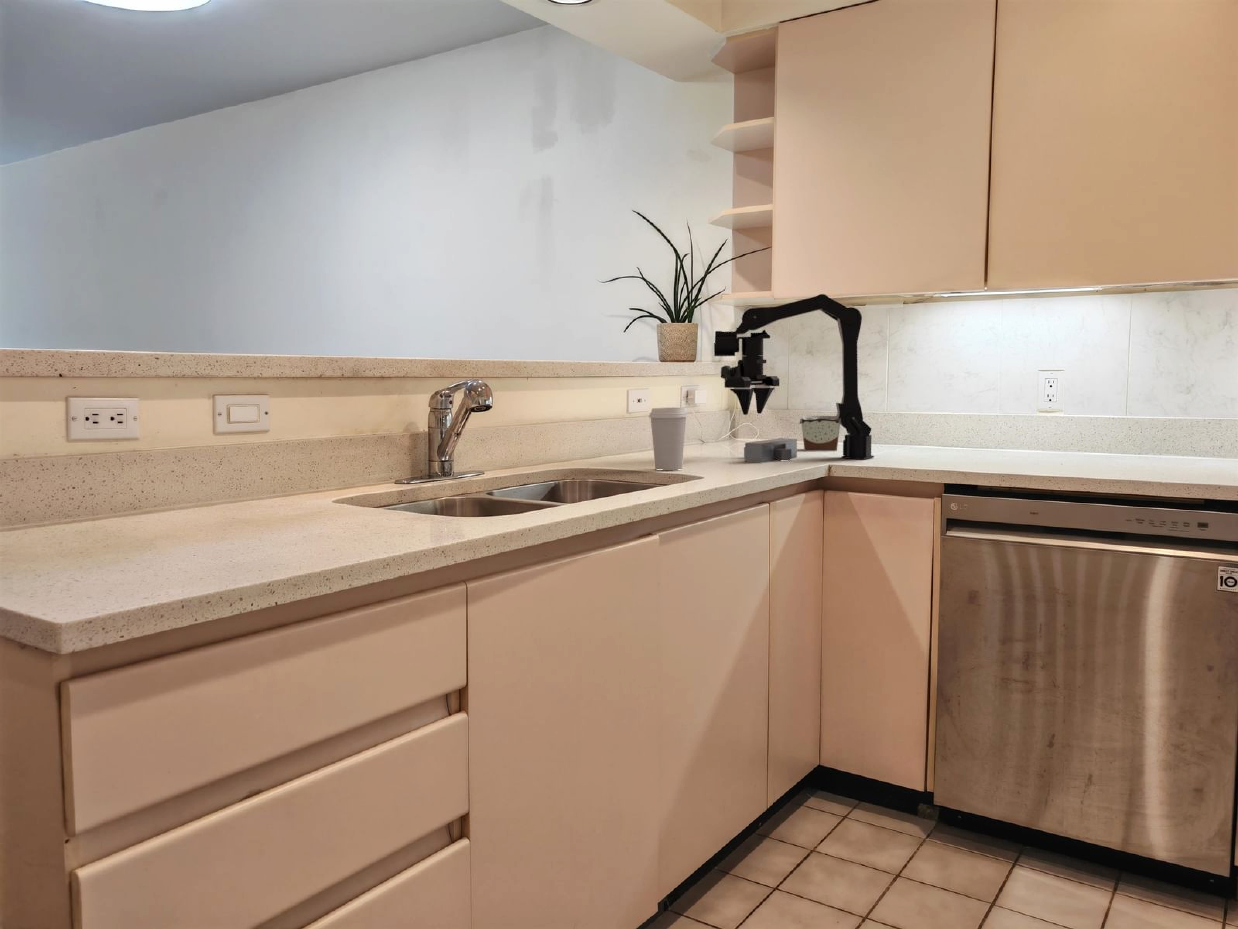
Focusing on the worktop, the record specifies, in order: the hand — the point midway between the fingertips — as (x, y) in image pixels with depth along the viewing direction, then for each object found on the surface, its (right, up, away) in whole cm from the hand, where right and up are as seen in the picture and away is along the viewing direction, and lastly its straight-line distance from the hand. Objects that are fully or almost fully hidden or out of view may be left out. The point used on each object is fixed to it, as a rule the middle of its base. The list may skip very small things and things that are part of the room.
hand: (752, 414), depth 245 cm
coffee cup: (-24, -15, -23) cm, 36 cm away
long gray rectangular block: (+5, -12, -3) cm, 13 cm away
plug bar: (+4, -12, -1) cm, 13 cm away
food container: (+23, -10, +22) cm, 33 cm away
